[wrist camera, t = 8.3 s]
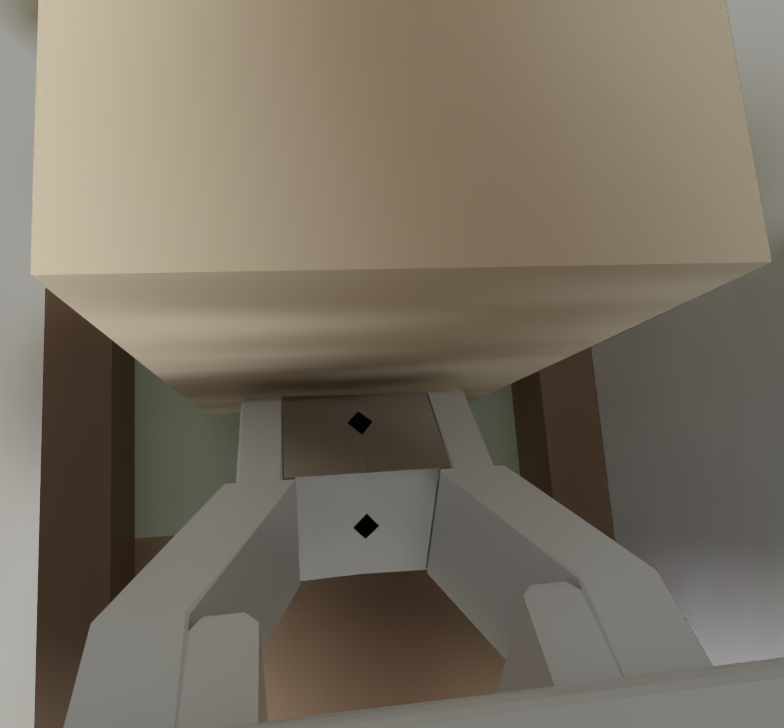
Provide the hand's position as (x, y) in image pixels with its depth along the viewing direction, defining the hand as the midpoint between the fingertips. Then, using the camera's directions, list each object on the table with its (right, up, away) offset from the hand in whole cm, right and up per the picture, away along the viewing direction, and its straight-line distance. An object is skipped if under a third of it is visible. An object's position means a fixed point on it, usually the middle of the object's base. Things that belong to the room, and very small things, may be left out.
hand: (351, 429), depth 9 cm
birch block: (0, +3, +3) cm, 4 cm away
